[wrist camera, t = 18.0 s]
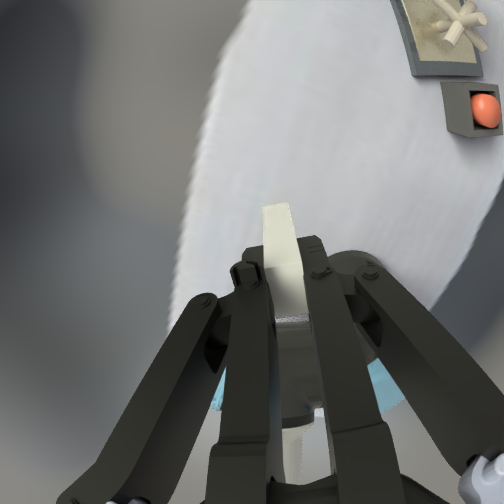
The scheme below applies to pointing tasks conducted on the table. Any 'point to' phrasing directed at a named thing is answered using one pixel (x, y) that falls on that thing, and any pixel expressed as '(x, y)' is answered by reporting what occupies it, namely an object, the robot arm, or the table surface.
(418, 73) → the press frame
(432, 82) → the table surface
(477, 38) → the pipe connector
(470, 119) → the button housing
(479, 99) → the press button
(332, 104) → the table surface
